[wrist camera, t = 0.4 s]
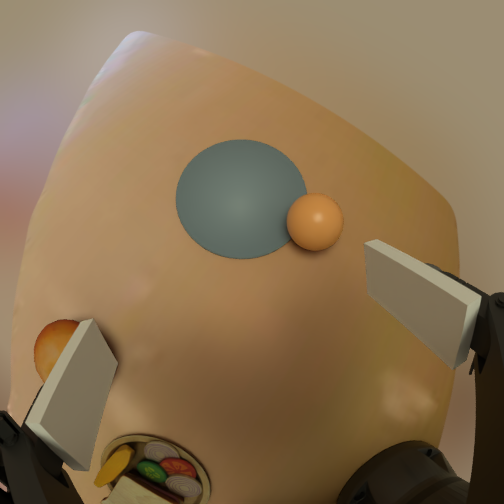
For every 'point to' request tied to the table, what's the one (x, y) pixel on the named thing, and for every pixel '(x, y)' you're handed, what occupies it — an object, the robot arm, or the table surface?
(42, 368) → the fruit
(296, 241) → the orange ball
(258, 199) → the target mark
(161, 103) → the table surface
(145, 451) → the toy sandwich meal
